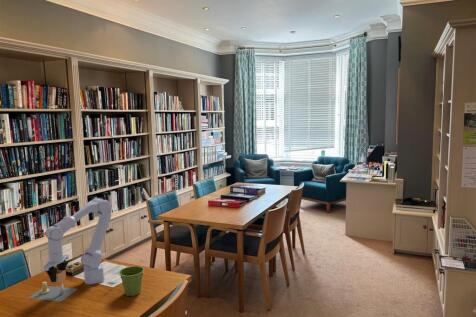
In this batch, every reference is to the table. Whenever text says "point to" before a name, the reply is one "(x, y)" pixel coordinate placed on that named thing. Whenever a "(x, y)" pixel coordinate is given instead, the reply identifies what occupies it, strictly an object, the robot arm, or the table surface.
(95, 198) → the robot arm
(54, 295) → the board
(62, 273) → the collar
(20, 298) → the table surface
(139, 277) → the plant pot
